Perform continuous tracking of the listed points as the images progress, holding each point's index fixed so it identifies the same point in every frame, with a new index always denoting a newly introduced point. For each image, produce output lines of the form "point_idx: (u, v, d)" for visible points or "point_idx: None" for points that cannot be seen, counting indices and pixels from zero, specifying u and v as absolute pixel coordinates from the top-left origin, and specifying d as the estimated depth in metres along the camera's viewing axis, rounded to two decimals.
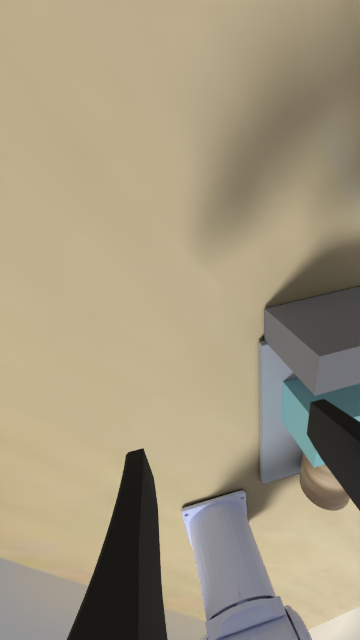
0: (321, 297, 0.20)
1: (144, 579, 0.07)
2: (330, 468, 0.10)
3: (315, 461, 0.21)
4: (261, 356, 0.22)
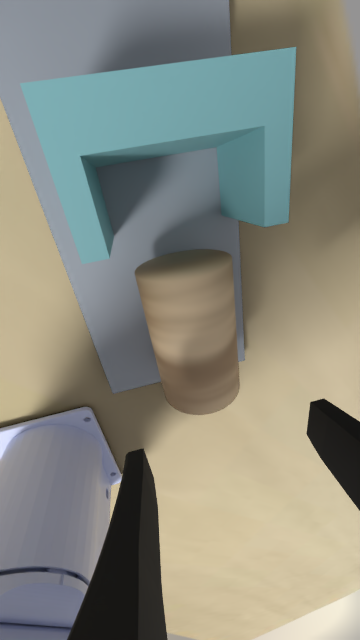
0: None
1: (144, 579, 0.07)
2: (330, 468, 0.10)
3: (75, 241, 0.09)
4: None
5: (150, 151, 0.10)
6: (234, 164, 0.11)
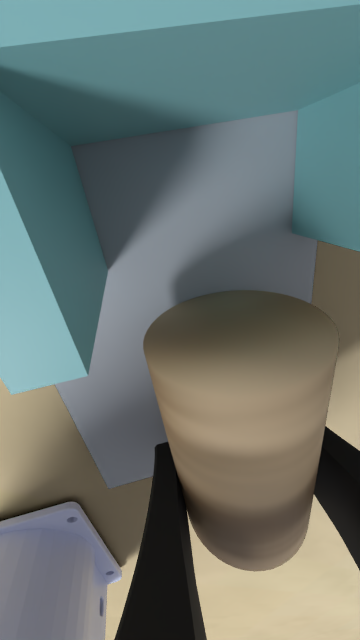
0: None
1: (187, 565, 0.07)
2: None
3: None
4: None
5: (192, 94, 0.04)
6: (357, 135, 0.05)
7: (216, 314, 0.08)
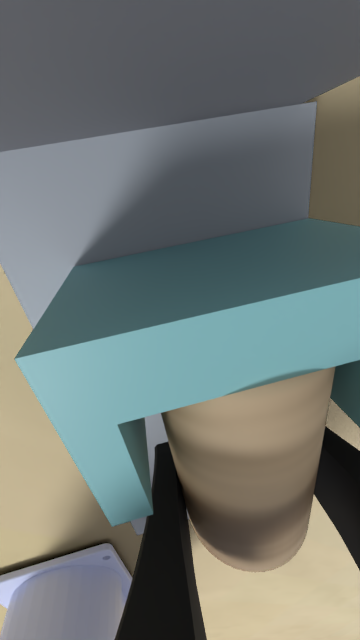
0: None
1: (187, 565, 0.07)
2: None
3: (103, 508, 0.06)
4: None
5: None
6: None
7: None
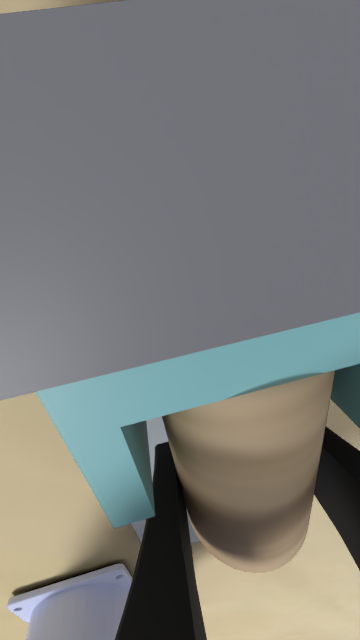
0: None
1: (187, 565, 0.07)
2: None
3: (106, 510, 0.06)
4: None
5: None
6: None
7: None
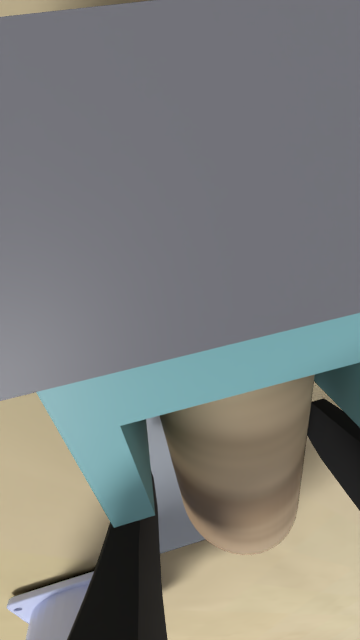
0: None
1: (144, 579, 0.07)
2: (330, 468, 0.10)
3: (106, 509, 0.06)
4: None
5: None
6: None
7: None
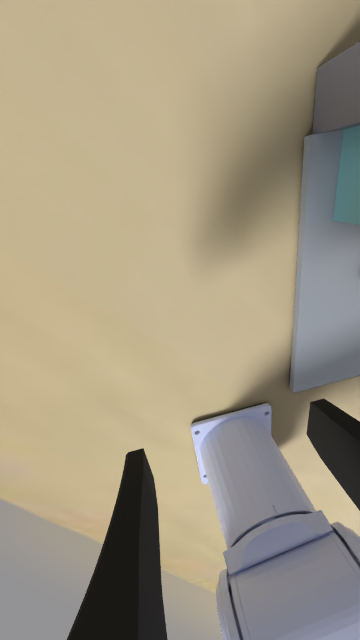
0: None
1: (144, 579, 0.07)
2: (330, 468, 0.10)
3: None
4: (307, 158, 0.15)
5: None
6: None
7: None
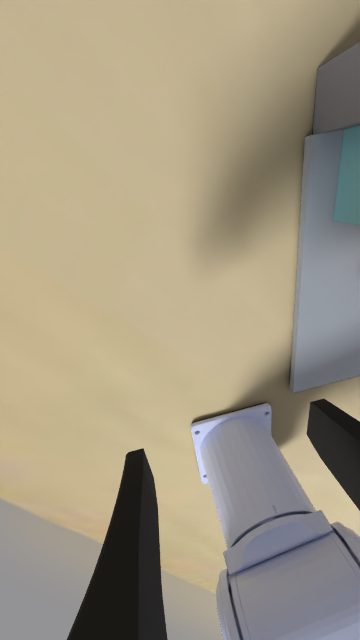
0: None
1: (144, 579, 0.07)
2: (330, 468, 0.10)
3: None
4: (308, 158, 0.15)
5: None
6: None
7: None
